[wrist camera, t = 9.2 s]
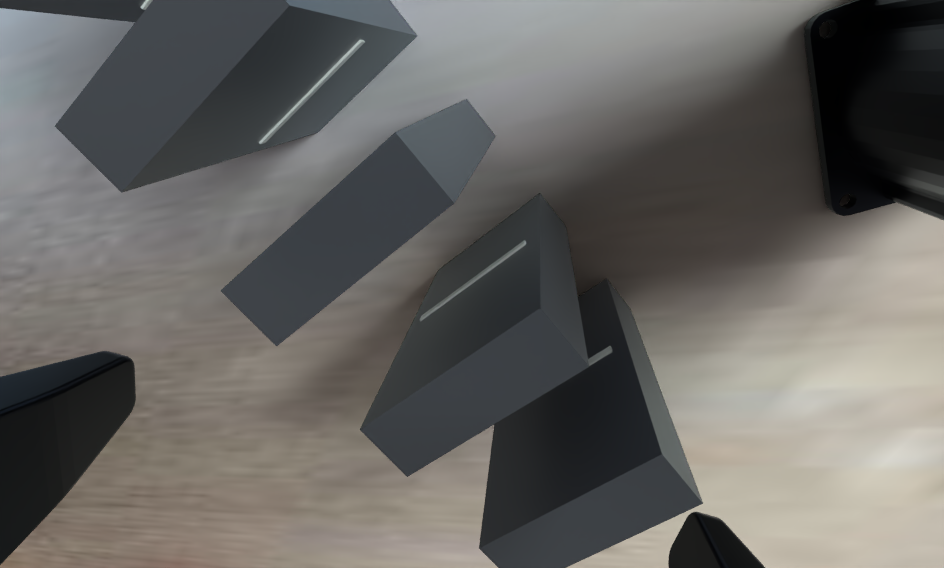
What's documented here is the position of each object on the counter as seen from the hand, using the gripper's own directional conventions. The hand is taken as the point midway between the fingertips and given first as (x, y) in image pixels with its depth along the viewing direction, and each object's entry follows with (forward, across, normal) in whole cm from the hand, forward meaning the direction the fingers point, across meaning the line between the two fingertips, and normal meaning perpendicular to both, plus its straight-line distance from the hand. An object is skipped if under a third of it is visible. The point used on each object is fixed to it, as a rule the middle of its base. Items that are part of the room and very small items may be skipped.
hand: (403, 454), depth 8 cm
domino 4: (+13, -4, +3) cm, 14 cm away
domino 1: (+13, +6, -4) cm, 15 cm away
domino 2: (+13, +3, -2) cm, 13 cm away
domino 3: (+13, -1, +1) cm, 13 cm away
